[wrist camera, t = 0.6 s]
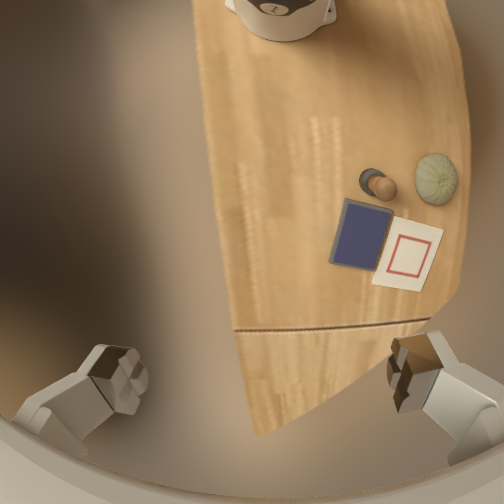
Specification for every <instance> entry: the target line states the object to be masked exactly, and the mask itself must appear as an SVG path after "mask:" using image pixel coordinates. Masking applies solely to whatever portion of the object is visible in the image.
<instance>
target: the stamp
mask: <svg viewBox="0 0 504 504" xmlns="http://www.w3.org/2000/svg"><path fill="white" fill-rule="evenodd" d="M359 183H360V187H361V188H362V190H363V191H365V192H366V193H367V194H369V195H371V196H376V197H377V198H378V199H380V200H382V201H390V200H392V199H393V198H394V197H395V196H396V193H397V187H396V184H395V182H394V181H393V180H392V179H390V178H387V177H385V176H384V174H383V173H382V172H380V171H378V170H376V169H366V170H365V171H363V172H362V174H361V175H360V179H359Z"/></svg>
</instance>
